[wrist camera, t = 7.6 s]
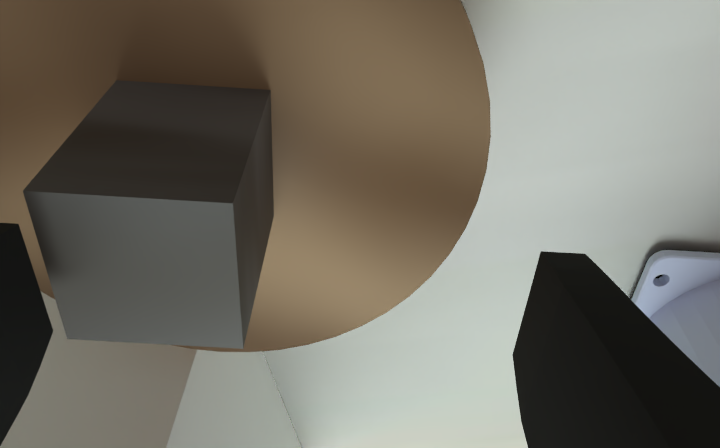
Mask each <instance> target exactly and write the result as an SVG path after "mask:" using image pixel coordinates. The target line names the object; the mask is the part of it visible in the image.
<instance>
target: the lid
mask: <svg viewBox="0 0 720 448" xmlns="http://www.w3.org/2000/svg"><path fill="white" fill-rule="evenodd" d="M490 137H491V135H490V100H489V94H488V88H487V82H486V76H485V70H484V64H483V61H482V58H481V55H480V52H479V48H478V45H477V42H476V39H475V36H474V33H473V30H472V27H471V24H470V21H469V19H468V16H467V13H466V11H465V8H464V6H463V4H462V2H461V0H0V223H15V224H19V227H20V230H21V233H22V236H23V239H24V242H25V245H26V248H27V251H28V254H29V258H30V261H31V264H32V267H33V270H34V273H35V276H36V279H37V282H38V285H39V288H40V291H41V292H43V293H44V294H46V295H48V296H50V297H51V298H53V299H55V300H56V304H57V307H58V310H59V313H60V317H61V320H62V323H63V327H64V330H65V333H66V337H67V339H75V340H93V341H111V342H129V343H147V344H165V345H173V346H178V347H184V348H189V349H197V350H207V351H217V352H259V351H271V350H281V349H286V348H292V347H297V346H303V345H308V344H312V343H315V342H319V341H322V340H326V339H329V338H332V337H336V336H338V335H341V334H343V333H346V332H348V331H350V330H353V329H355V328H358V327H360V326H362V325H364V324H366V323H368V322H370V321H372V320H373V319H375V318H377V317H379V316H381V315H383V314H384V313H386V312H388V311H389V310H390V309H392V308H393V307H395V306H396V305H398V304H399V303H400V302H402V301H403V300H405V299H406V298H407V297H409V296H410V295H411V294H412V293H413V292H414V291H415V290H417V289H418V288H419V287H420V286H421V285H422V284H423V283H424V282H425V281H426V280H427V279H429V278H430V277H431V276H432V274H433V273H434V272H435V271H436V270H437V268H438V267H439V266H440V265H441V264H442V262H443V261H444V260H445V259H446V258H447V256H448V255H449V254H450V252H451V251H452V249H453V248H454V246H455V244H456V243H457V241H458V240H459V238H460V236H461V235H462V233H463V232H464V230H465V228H466V226H467V224H468V221H469V219H470V217H471V215H472V212H473V210H474V208H475V206H476V203H477V201H478V198H479V194H480V191H481V187H482V184H483V180H484V176H485V173H486V168H487V161H488V153H489V145H490Z"/></svg>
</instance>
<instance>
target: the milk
mask: <svg viewBox="0 0 720 448" xmlns="http://www.w3.org/2000/svg"><path fill="white" fill-rule="evenodd" d="M41 294H42V297H43V300H44V304H45V307H46V310H47V313H48V316H49V319H50V322H51V325H52V328H53V333H52V336H51V339H50V341H49V344H48V347H47V350H46V352H45V355H44V358H43V360H42V363H41V366H40V368H39V371H38V373H37V375H36V378H35V380H34V383H33V385H32V387H31V390H30V392H29V395H28V397H27V399H26V400H25V402H24V404H23V406H22V408H21V410H20V412H19V413H18V415H17V417H16V419H15V421H14V422H13V424H12V426H11V428H10V430H9V431H8V433H7V435H6V437H5V439H4V441H3V442H2V444H1V446H0V448H302V447H301V445H300V442H299V440H298V437H297V435H296V432H295V430H294V427H293V425H292V422H291V420H290V418H289V415H288V413H287V410H286V408H285V405H284V403H283V400H282V398H281V395H280V393H279V391H278V388H277V386H276V383H275V381H274V378H273V376H272V373H271V371H270V368H269V366H268V364H267V361H266V359H265V356H264V354H263V351H259V352H217V351H207V350H197V349H189V348H184V347H178V346H173V345H165V344H147V343H129V342H111V341H93V340H75V339H67V337H66V333H65V330H64V327H63V323H62V320H61V317H60V313H59V310H58V307H57V304H56V300H55V299H53V298H51V297H50V296H48V295H46V294H44V293H43V292H41Z"/></svg>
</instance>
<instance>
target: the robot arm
mask: <svg viewBox="0 0 720 448" xmlns="http://www.w3.org/2000/svg"><path fill="white" fill-rule="evenodd" d="M662 274H664V275H663V276H662V277H660V278H657V279H654V278H655V277H657V276H658V275H662ZM52 333H53V328H52V325H51V322H50V319H49V316H48V313H47V310H46V307H45V304H44V300H43V297H42V294H41V291H40V288H39V285H38V282H37V279H36V276H35V273H34V270H33V267H32V264H31V261H30V258H29V254H28V251H27V248H26V245H25V242H24V239H23V236H22V233H21V230H20V227H19V224H15V223H0V446H1V444H2V442H3V441H4V439H5V437H6V435H7V433H8V431H9V430H10V428H11V426H12V424H13V422H14V421H15V419H16V417H17V415H18V413H19V412H20V410H21V408H22V406H23V404H24V402H25V400H26V399H27V397H28V395H29V392H30V390H31V387H32V385H33V383H34V380H35V378H36V375H37V373H38V371H39V368H40V366H41V363H42V360H43V358H44V355H45V352H46V350H47V347H48V344H49V341H50V339H51V336H52ZM513 361H514V369H515V377H516V386H517V393H518V400H519V407H520V414H521V421H522V425H523V429H524V433H525V437H526V441H527V445H528V448H720V253H711V252H695V251H678V250H661V251H659V252H656V253H655V254H653V255H652V256H651V257H650V258H649V259H648V261H647V263H646V266H645V268H644V270H643V273H642V275H641V278H640V280H639V282H638V285H637V287H636V290H635V292H634V294H633V297H632V299H631V300H630V298H629V297H628V296H627V295H626V294H625V293H624V292H623V291H622V290H621V289H620V288H619V287H618V286H617V285H616V284H615V283H614V282H613V281H612V280H611V279H610V278H609V277H608V276H607V275H606V274H605V273H604V272H603V271H602V270H601V269H600V268H599V267H598V266H597V265H596V264H595V263H594V262H593V261H592V260H591V259H590V258H589V257H588V256H587V255H586V254H576V253H558V252H541V253H540V257H539V261H538V264H537V268H536V272H535V275H534V279H533V283H532V286H531V290H530V294H529V297H528V301H527V305H526V308H525V312H524V315H523V319H522V323H521V326H520V330H519V334H518V337H517V341H516V345H515V348H514V352H513Z"/></svg>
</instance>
